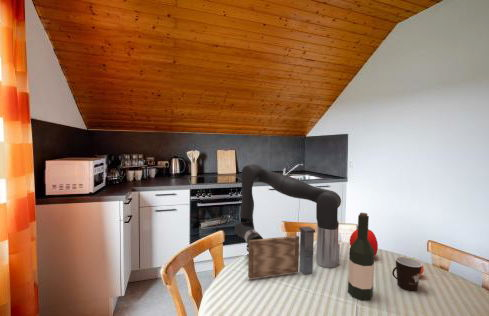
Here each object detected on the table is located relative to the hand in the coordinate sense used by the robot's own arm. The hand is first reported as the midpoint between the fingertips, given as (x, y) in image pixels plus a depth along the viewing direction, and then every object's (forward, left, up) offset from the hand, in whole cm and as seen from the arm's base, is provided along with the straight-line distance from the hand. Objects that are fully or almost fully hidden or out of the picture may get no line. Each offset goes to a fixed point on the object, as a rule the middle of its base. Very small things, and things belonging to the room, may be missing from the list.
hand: (266, 254), depth 106 cm
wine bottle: (-28, +23, -8) cm, 37 cm away
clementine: (-60, +17, -8) cm, 63 cm away
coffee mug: (-48, +23, -8) cm, 54 cm away
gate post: (-17, +4, -8) cm, 19 cm away
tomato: (-52, -3, -8) cm, 53 cm away
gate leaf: (-2, +4, -7) cm, 8 cm away
